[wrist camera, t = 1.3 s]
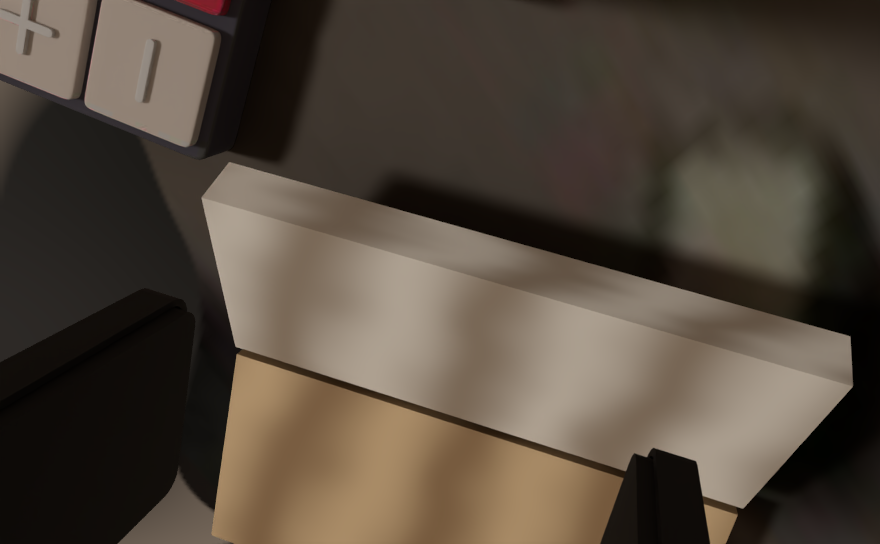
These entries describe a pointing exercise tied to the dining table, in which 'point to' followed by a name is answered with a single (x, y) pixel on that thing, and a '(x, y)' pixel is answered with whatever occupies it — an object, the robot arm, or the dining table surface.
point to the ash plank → (518, 334)
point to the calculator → (139, 63)
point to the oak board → (396, 472)
